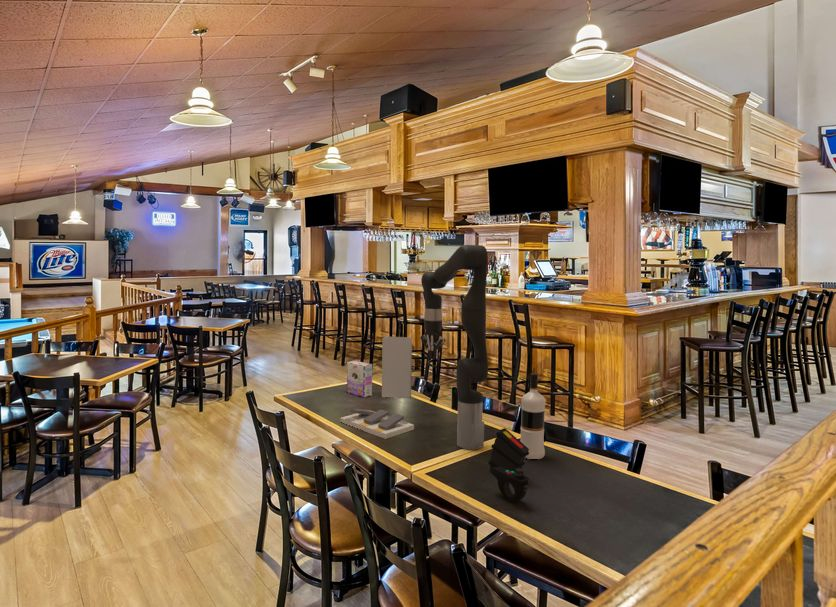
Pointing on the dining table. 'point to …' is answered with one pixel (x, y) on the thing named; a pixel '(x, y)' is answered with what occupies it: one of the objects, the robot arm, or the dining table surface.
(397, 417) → the rocker near
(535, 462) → the dining table surface
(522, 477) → the controller
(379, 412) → the rocker mid
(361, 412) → the rocker far
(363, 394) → the candy box
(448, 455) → the dining table surface
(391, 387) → the tall grey panel
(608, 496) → the dining table surface
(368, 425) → the switch panel
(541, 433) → the vodka
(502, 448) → the dark striped block
